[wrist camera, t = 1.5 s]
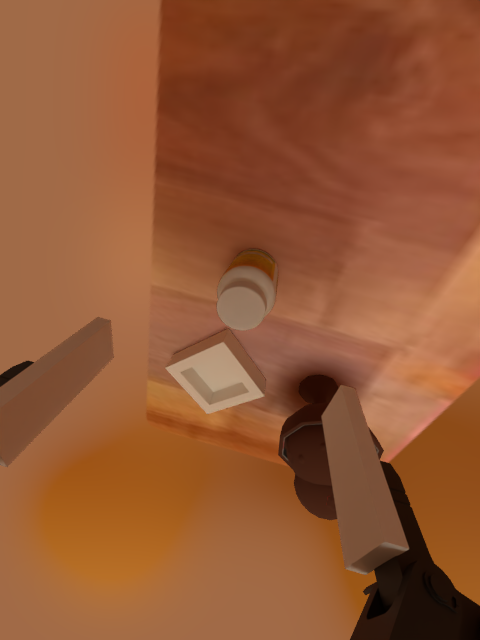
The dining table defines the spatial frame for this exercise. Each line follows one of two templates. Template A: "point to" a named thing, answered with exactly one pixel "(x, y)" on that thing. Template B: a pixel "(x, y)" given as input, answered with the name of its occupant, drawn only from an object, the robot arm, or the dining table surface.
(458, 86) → the dining table surface
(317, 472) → the ice cream bowl
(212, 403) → the holder
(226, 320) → the supplement bottle
